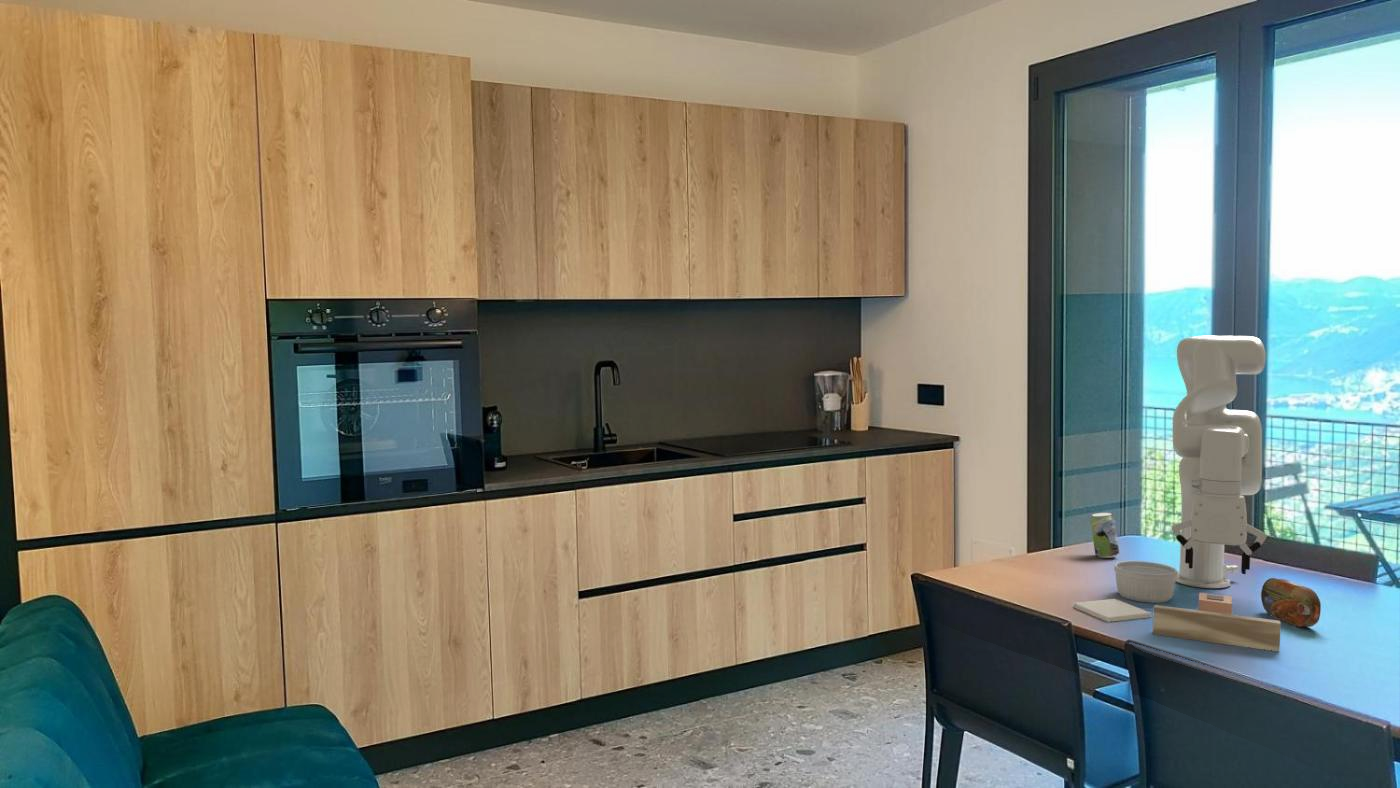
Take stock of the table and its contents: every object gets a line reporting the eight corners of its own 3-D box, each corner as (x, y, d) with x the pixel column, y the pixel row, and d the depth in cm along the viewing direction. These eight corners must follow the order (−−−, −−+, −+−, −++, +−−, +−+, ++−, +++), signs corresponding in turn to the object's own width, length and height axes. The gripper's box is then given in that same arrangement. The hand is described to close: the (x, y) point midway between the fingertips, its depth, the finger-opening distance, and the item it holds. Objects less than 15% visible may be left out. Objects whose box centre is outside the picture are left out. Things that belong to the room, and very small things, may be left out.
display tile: (1114, 603, 214) (1114, 598, 214) (1150, 617, 204) (1150, 612, 203) (1073, 607, 211) (1073, 602, 211) (1107, 621, 200) (1108, 617, 200)
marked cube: (1198, 620, 202) (1199, 591, 201) (1230, 624, 199) (1231, 595, 199) (1197, 628, 197) (1198, 598, 196) (1230, 632, 194) (1232, 602, 193)
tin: (1258, 610, 208) (1260, 573, 208) (1272, 610, 209) (1274, 572, 208) (1308, 632, 193) (1310, 592, 193) (1322, 632, 194) (1324, 592, 193)
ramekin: (1135, 586, 229) (1136, 557, 228) (1188, 599, 217) (1189, 569, 217) (1101, 594, 221) (1102, 565, 221) (1154, 608, 210) (1155, 577, 210)
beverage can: (1121, 560, 253) (1122, 516, 252) (1092, 559, 254) (1093, 515, 254) (1115, 554, 259) (1117, 511, 258) (1087, 553, 261) (1088, 510, 260)
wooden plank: (1153, 631, 194) (1154, 604, 194) (1278, 648, 184) (1279, 620, 183) (1152, 634, 193) (1153, 607, 192) (1279, 651, 182) (1280, 623, 182)
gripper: (1172, 487, 196) (1169, 568, 197) (1269, 493, 188) (1266, 579, 189) (1173, 482, 203) (1170, 561, 204) (1267, 489, 195) (1264, 571, 196)
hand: (1216, 570), depth 196 cm, fingers open, 9 cm apart
